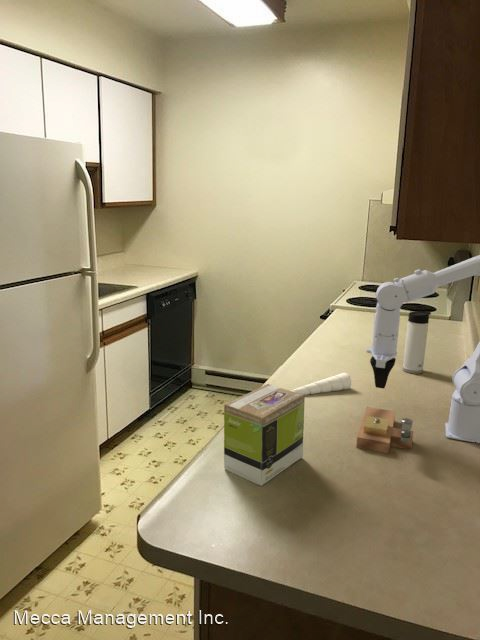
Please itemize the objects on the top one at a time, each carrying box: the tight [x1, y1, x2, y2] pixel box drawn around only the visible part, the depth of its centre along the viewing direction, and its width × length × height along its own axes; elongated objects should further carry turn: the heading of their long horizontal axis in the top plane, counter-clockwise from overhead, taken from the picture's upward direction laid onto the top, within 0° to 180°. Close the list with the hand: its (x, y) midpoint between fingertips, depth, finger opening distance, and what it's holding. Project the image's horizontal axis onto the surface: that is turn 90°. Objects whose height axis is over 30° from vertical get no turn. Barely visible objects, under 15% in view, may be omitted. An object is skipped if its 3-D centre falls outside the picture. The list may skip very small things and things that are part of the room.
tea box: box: [223, 383, 306, 487], centre depth 103 cm, size 15×10×15 cm, turn 141°
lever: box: [400, 417, 413, 442], centre depth 110 cm, size 10×2×2 cm, turn 160°
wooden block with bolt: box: [364, 416, 389, 436], centre depth 116 cm, size 5×6×2 cm
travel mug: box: [402, 310, 432, 375], centre depth 161 cm, size 6×7×20 cm
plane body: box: [355, 406, 414, 454], centre depth 118 cm, size 12×18×4 cm, turn 159°
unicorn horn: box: [290, 372, 353, 396], centre depth 143 cm, size 5×24×5 cm, turn 110°
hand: (380, 387), depth 122 cm, fingers closed
